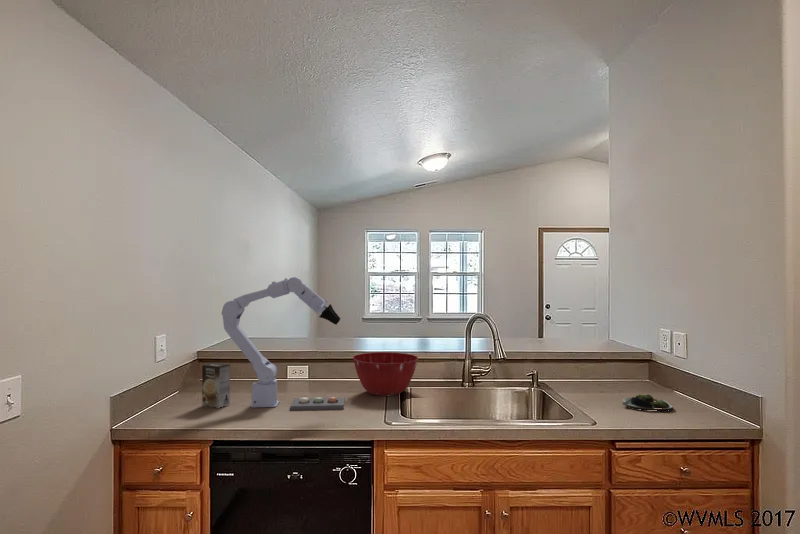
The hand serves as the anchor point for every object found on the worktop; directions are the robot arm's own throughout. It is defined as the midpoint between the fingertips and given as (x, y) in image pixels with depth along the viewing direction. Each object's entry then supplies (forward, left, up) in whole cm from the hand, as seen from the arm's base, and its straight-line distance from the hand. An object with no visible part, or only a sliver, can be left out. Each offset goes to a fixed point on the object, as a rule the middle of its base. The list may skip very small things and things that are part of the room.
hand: (338, 321), depth 205 cm
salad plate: (+118, -14, -33) cm, 124 cm away
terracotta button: (-2, -2, -31) cm, 31 cm away
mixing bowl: (+19, +17, -33) cm, 41 cm away
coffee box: (-48, +1, -32) cm, 58 cm away
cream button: (-13, -3, -31) cm, 34 cm away
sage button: (-8, -2, -31) cm, 32 cm away
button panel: (-8, -2, -32) cm, 33 cm away
